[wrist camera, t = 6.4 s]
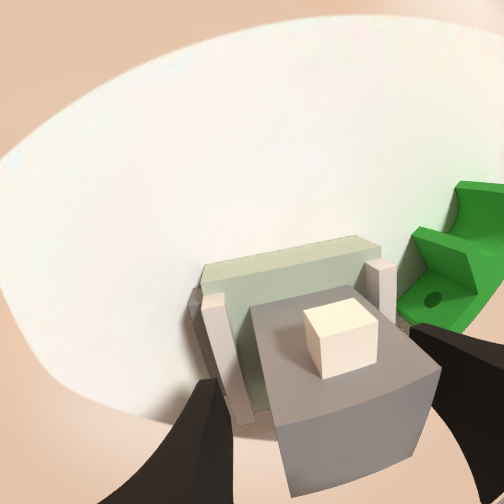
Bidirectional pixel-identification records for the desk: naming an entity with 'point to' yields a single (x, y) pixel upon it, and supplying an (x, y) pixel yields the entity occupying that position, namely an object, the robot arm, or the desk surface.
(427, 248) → the pipe clamp
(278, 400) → the dark grey block
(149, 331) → the desk surface
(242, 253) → the desk surface
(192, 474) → the robot arm
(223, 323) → the pale grey-green blocky piece
